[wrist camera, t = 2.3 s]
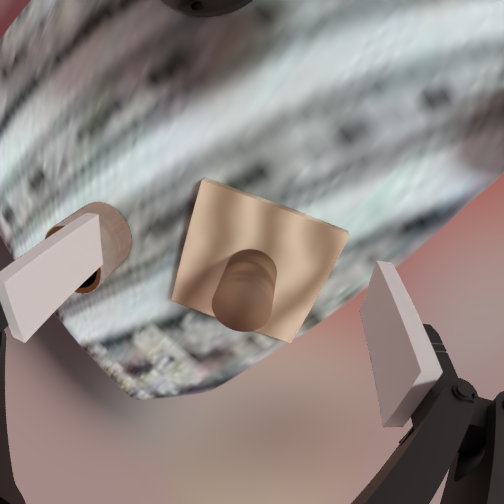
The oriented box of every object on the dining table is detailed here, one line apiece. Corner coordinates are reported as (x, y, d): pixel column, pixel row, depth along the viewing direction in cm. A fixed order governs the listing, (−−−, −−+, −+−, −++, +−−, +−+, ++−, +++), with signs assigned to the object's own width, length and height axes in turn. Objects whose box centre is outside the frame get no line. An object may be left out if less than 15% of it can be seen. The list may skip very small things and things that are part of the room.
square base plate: (174, 295, 49) (150, 335, 40) (204, 177, 40) (177, 201, 31) (291, 336, 50) (287, 383, 41) (347, 231, 40) (360, 268, 32)
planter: (117, 274, 49) (88, 307, 41) (71, 236, 47) (37, 262, 39) (145, 229, 45) (113, 259, 36) (92, 186, 43) (53, 208, 34)
